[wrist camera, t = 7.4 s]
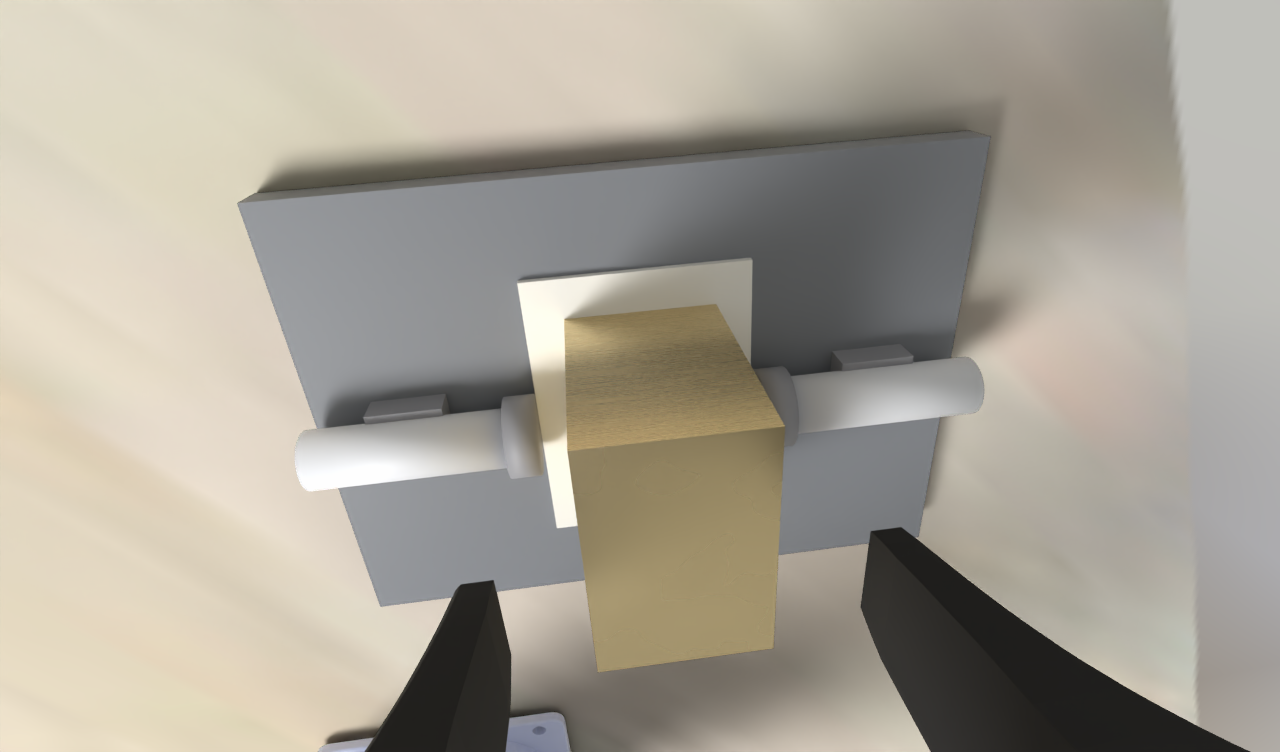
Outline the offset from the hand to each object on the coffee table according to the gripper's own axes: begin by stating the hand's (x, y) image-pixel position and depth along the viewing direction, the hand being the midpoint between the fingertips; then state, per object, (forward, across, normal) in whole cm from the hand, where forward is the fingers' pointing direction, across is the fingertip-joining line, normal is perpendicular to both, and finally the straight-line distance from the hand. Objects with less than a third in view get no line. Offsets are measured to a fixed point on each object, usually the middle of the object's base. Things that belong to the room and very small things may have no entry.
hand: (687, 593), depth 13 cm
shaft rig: (+8, 0, 0) cm, 8 cm away
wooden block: (+7, 0, 0) cm, 7 cm away
